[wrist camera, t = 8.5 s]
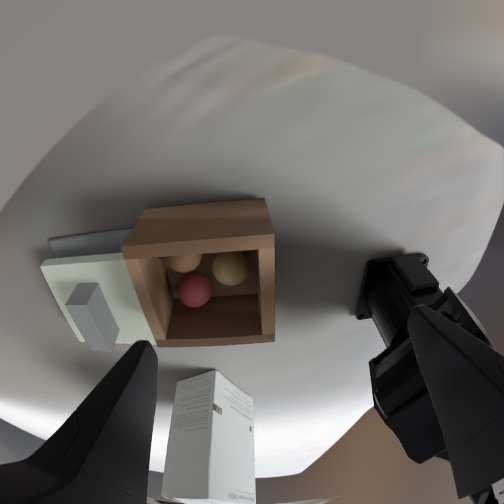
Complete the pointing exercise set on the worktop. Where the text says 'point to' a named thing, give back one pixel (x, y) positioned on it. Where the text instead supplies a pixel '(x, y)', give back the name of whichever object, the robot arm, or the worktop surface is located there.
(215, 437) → the skincare box
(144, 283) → the box
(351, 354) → the worktop surface
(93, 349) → the lid
